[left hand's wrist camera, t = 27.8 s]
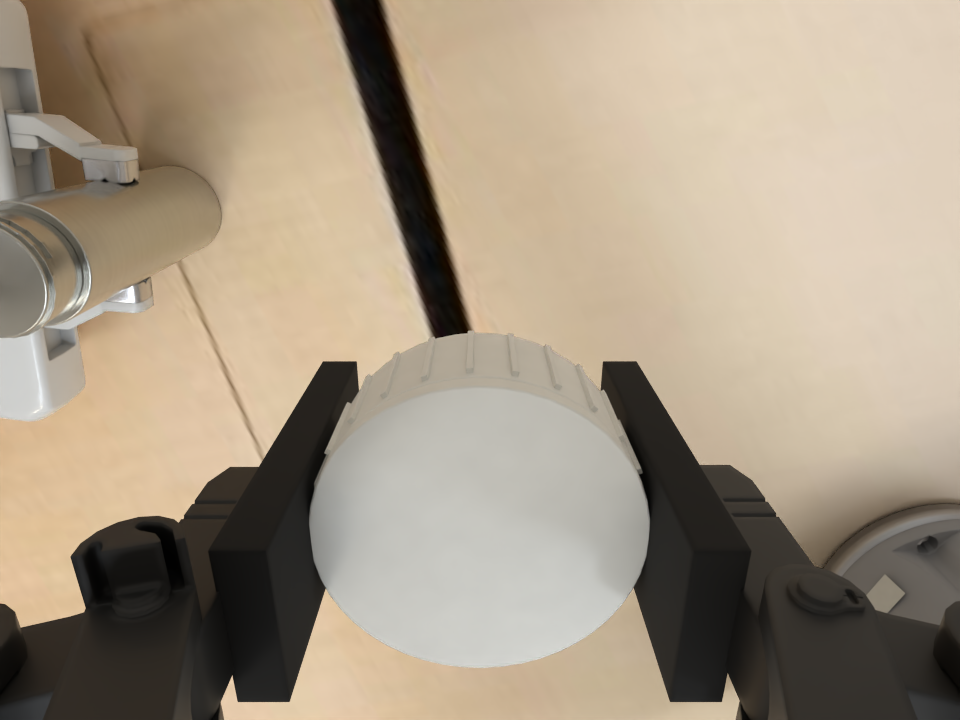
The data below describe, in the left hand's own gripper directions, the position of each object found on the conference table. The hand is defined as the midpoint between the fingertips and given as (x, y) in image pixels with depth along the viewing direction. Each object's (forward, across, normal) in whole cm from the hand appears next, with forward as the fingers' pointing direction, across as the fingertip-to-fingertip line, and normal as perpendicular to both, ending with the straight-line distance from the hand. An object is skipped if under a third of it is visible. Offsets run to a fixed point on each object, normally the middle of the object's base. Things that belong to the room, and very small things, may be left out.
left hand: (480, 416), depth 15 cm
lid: (-4, 0, 0) cm, 4 cm away
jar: (+23, +17, -1) cm, 29 cm away
